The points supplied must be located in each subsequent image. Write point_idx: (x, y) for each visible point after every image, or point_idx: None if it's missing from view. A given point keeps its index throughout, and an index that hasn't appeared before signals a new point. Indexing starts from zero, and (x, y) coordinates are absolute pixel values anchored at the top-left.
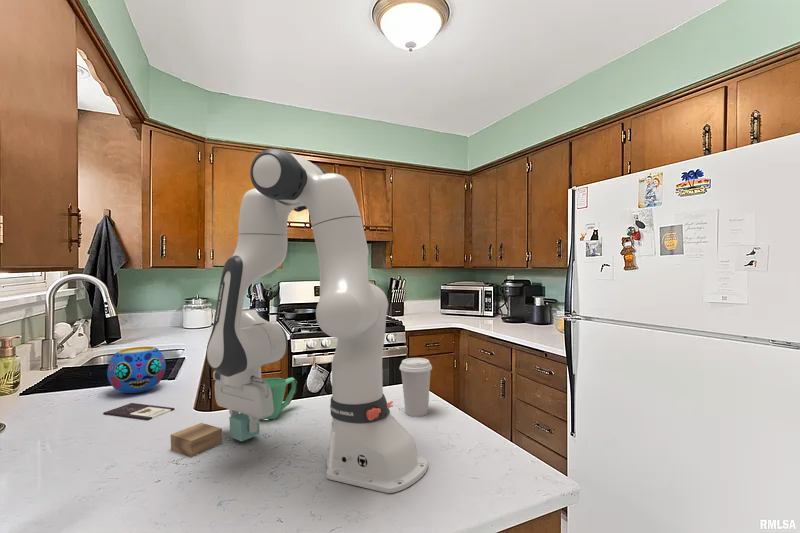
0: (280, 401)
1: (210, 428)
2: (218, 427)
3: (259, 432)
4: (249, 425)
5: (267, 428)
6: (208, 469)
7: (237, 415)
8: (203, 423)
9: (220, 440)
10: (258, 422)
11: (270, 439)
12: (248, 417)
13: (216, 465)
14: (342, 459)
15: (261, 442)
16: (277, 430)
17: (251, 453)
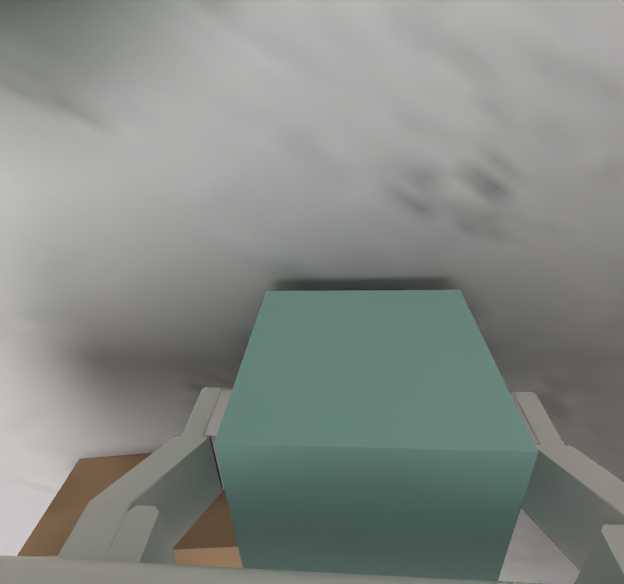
0: None
1: None
2: (220, 547)
3: (464, 299)
4: (527, 503)
5: (302, 75)
6: (511, 580)
7: (285, 562)
8: (42, 556)
9: None
10: (494, 373)
11: (564, 227)
12: (485, 551)
13: (513, 555)
14: None
15: (530, 304)
16: (459, 31)
17: (598, 427)
